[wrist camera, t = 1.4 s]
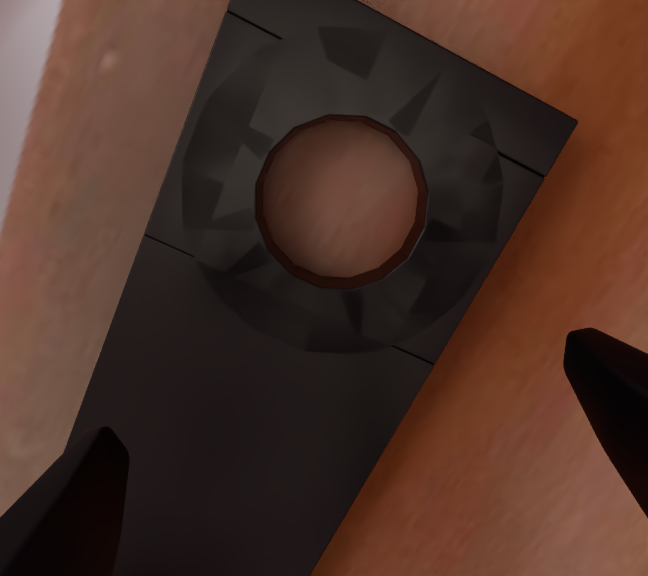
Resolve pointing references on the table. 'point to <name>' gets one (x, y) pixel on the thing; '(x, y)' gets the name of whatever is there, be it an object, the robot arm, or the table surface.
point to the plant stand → (298, 288)
